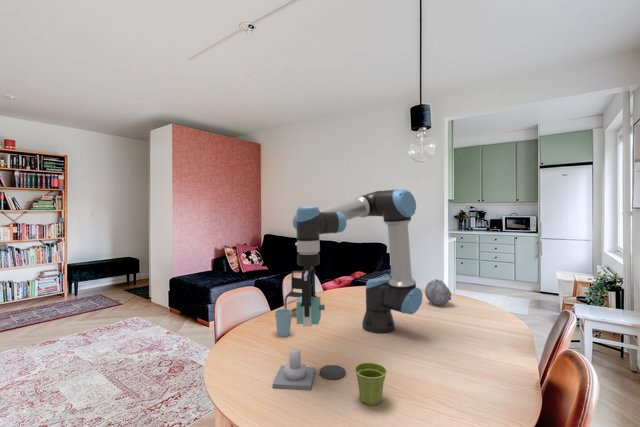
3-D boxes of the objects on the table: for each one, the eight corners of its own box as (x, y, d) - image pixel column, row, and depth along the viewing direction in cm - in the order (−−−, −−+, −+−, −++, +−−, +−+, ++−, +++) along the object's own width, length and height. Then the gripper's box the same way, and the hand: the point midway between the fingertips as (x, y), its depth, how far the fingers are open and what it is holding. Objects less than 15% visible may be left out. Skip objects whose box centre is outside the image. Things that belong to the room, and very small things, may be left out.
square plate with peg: (315, 370, 109) (315, 344, 109) (310, 390, 97) (310, 360, 97) (281, 368, 110) (281, 343, 110) (272, 387, 98) (272, 358, 98)
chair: (315, 310, 177) (315, 271, 177) (308, 320, 160) (308, 277, 160) (293, 309, 179) (293, 270, 179) (284, 319, 162) (284, 276, 162)
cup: (294, 336, 140) (294, 312, 140) (277, 339, 137) (277, 314, 137) (289, 330, 147) (289, 308, 147) (273, 333, 144) (272, 310, 144)
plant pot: (351, 391, 97) (351, 362, 97) (381, 389, 97) (381, 361, 97) (357, 410, 87) (357, 378, 87) (391, 408, 88) (391, 377, 88)
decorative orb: (455, 308, 180) (455, 282, 180) (429, 308, 180) (429, 282, 180) (445, 301, 194) (445, 277, 194) (421, 301, 195) (421, 277, 195)
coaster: (346, 367, 111) (346, 365, 111) (345, 380, 102) (345, 378, 102) (320, 366, 112) (320, 364, 112) (317, 379, 103) (317, 377, 103)
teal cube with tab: (296, 323, 102) (296, 302, 102) (300, 316, 109) (300, 296, 109) (323, 324, 101) (323, 302, 101) (325, 317, 108) (325, 296, 108)
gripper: (302, 249, 115) (303, 311, 116) (291, 257, 96) (292, 333, 96) (322, 249, 115) (323, 312, 115) (315, 257, 95) (316, 333, 95)
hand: (309, 321), depth 105 cm, fingers closed on teal cube with tab, 7 cm apart
